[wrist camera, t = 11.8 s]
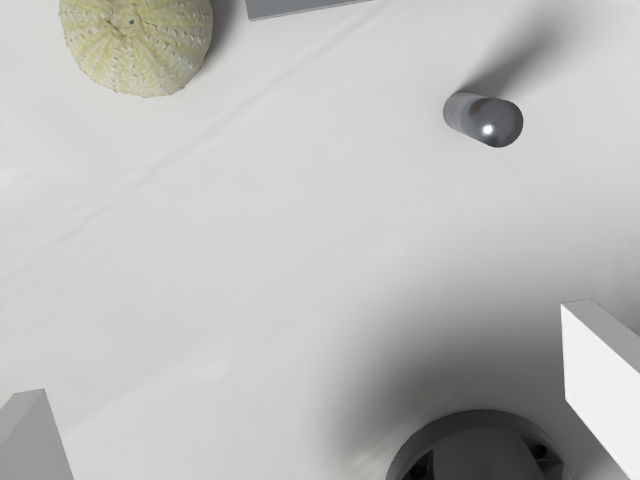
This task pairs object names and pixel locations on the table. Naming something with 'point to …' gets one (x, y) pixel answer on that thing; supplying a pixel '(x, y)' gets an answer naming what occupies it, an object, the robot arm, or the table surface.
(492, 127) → the grey rounded cylinder
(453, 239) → the table surface
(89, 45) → the sea urchin shell
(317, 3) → the tray
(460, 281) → the table surface
